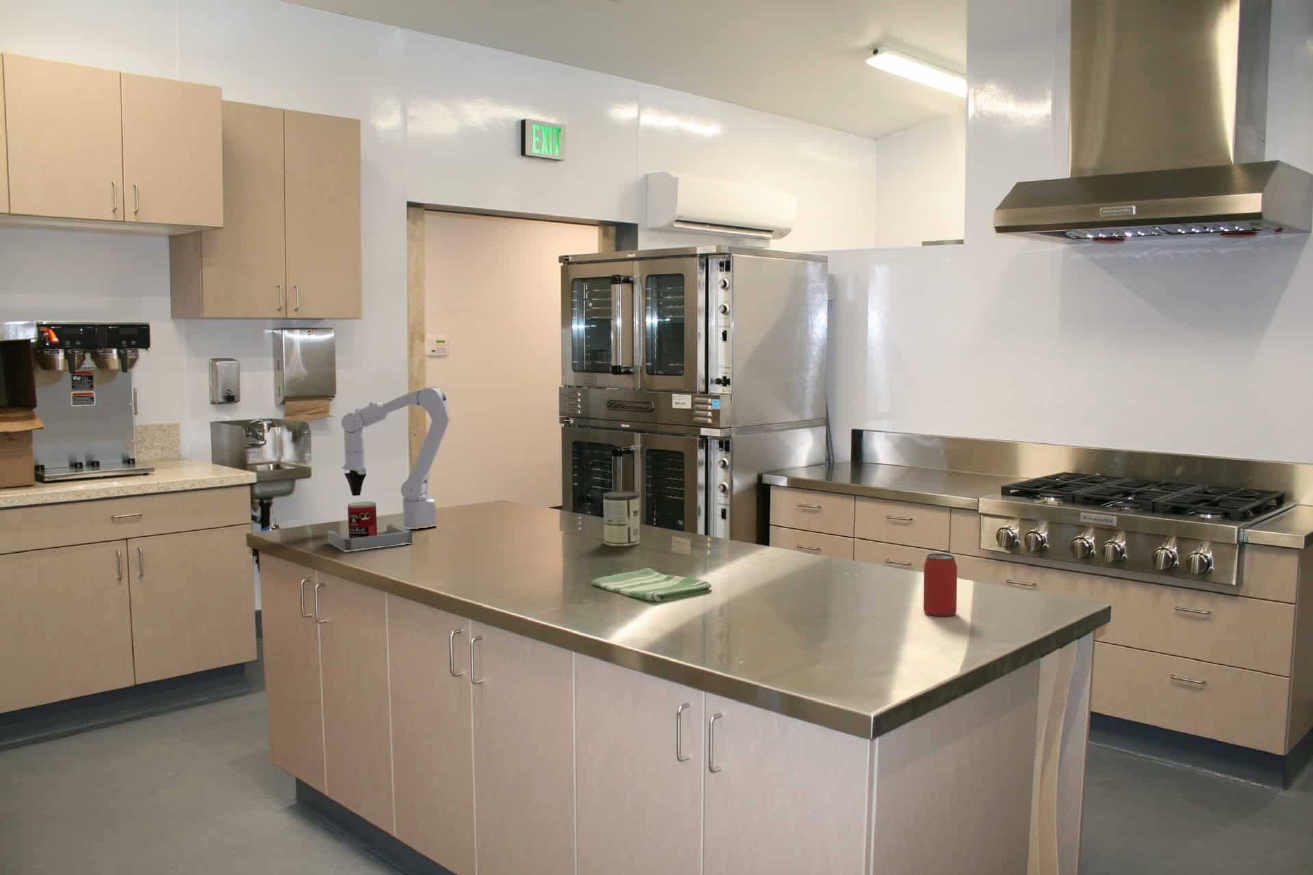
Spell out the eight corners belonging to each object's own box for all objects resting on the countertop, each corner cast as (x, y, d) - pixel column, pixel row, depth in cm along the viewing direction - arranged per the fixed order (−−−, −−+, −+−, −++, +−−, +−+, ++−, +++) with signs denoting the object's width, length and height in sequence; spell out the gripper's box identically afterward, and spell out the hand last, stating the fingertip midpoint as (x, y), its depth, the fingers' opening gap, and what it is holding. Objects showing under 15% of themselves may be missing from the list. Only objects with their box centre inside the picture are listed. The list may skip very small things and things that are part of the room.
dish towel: (650, 575, 247) (650, 564, 247) (714, 593, 229) (714, 581, 229) (590, 587, 236) (590, 575, 236) (653, 606, 218) (653, 594, 218)
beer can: (931, 607, 213) (932, 551, 212) (961, 612, 209) (962, 555, 208) (917, 614, 208) (918, 556, 207) (948, 619, 204) (949, 560, 202)
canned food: (343, 542, 290) (342, 505, 289) (360, 537, 298) (359, 500, 297) (365, 544, 288) (364, 506, 287) (382, 539, 295) (381, 502, 294)
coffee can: (606, 539, 292) (605, 490, 290) (641, 539, 291) (641, 490, 289) (600, 546, 281) (600, 496, 280) (637, 546, 280) (637, 496, 279)
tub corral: (392, 535, 300) (391, 523, 300) (412, 544, 287) (412, 532, 287) (327, 543, 290) (327, 531, 289) (345, 552, 276) (345, 540, 276)
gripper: (334, 450, 314) (336, 493, 315) (349, 454, 302) (350, 499, 304) (356, 449, 318) (358, 491, 319) (372, 452, 306) (373, 497, 308)
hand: (356, 495), depth 312 cm, fingers closed
